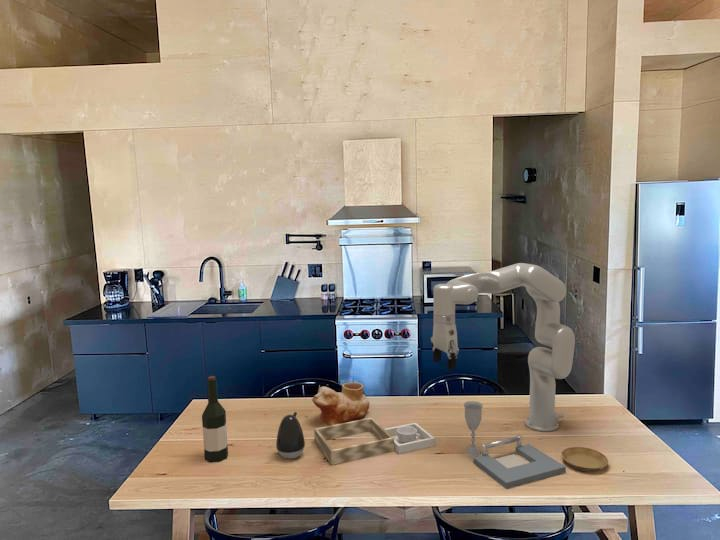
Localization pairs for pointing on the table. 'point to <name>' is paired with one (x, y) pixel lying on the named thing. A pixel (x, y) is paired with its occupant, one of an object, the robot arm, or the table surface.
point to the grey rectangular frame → (521, 467)
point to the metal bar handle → (501, 443)
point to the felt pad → (511, 461)
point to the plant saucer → (584, 458)
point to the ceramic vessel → (341, 404)
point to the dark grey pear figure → (290, 437)
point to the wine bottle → (214, 426)
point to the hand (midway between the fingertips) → (444, 365)
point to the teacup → (406, 434)
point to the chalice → (473, 423)
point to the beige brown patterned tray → (355, 451)
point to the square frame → (415, 445)
